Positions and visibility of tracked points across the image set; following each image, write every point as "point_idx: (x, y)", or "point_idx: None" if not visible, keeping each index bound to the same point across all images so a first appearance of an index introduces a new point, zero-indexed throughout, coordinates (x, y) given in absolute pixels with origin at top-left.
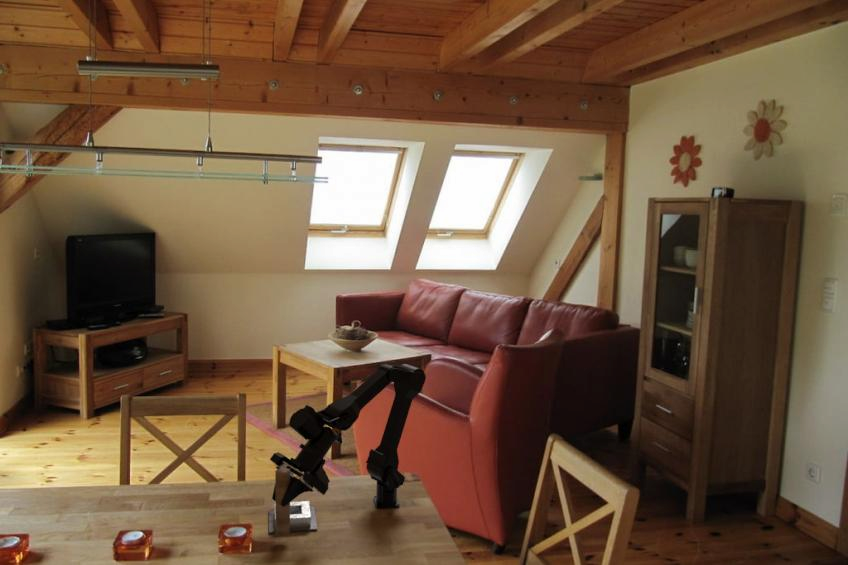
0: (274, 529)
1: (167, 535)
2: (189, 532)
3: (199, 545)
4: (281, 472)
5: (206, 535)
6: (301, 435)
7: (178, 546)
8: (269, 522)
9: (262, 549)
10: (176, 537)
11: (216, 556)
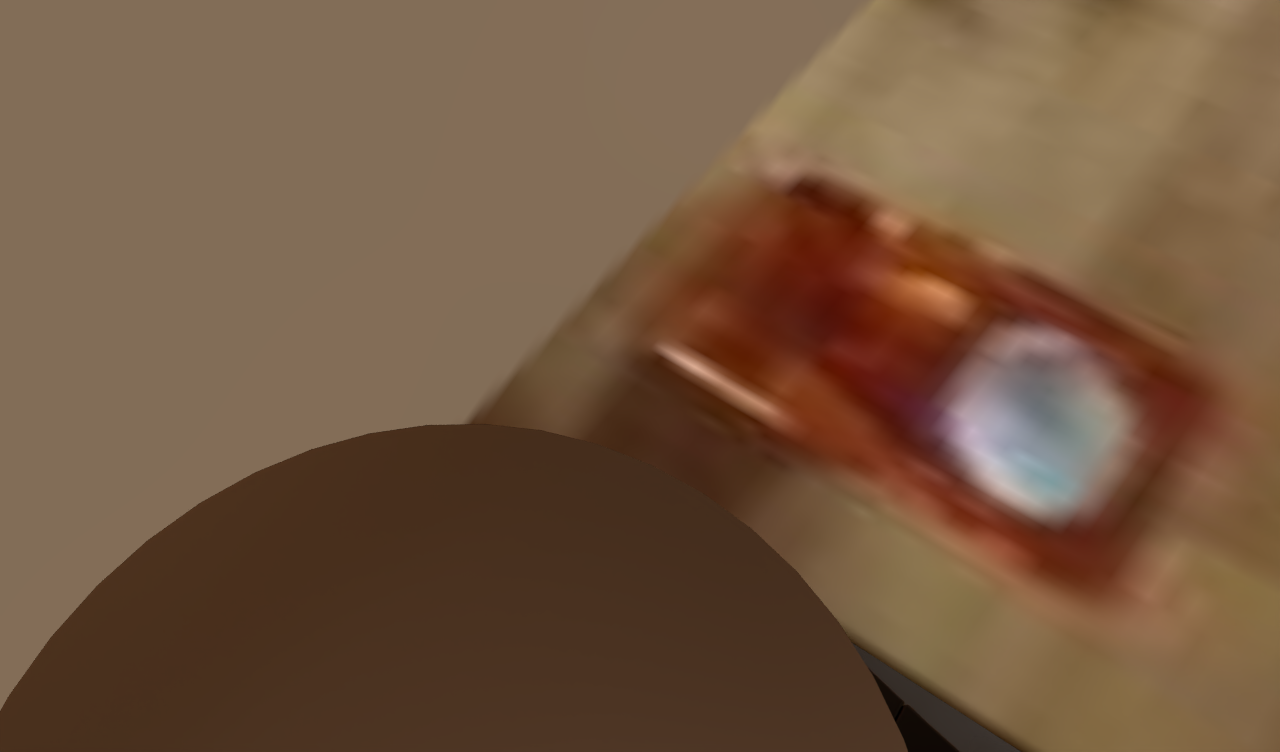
0: None
1: (1260, 17)
2: (1224, 143)
3: (988, 112)
4: (312, 707)
5: (1107, 214)
6: None
7: (1060, 8)
8: (986, 737)
9: (623, 435)
10: (1197, 48)
11: (765, 129)
